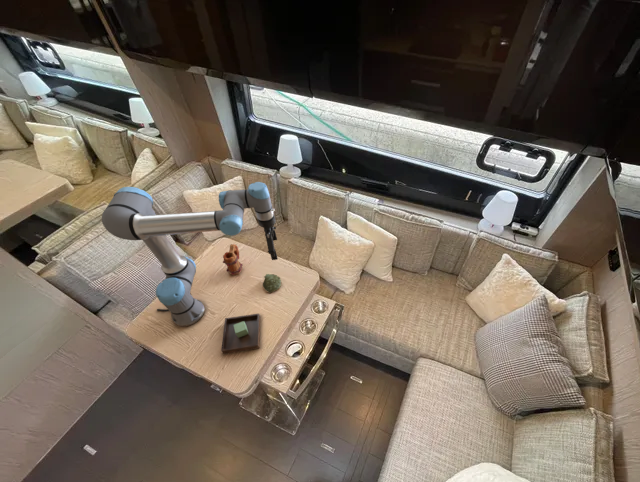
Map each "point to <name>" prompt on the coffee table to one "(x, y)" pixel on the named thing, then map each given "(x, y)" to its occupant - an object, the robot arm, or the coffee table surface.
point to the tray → (245, 342)
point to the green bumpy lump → (271, 282)
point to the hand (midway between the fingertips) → (274, 249)
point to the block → (241, 329)
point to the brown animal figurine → (232, 260)
